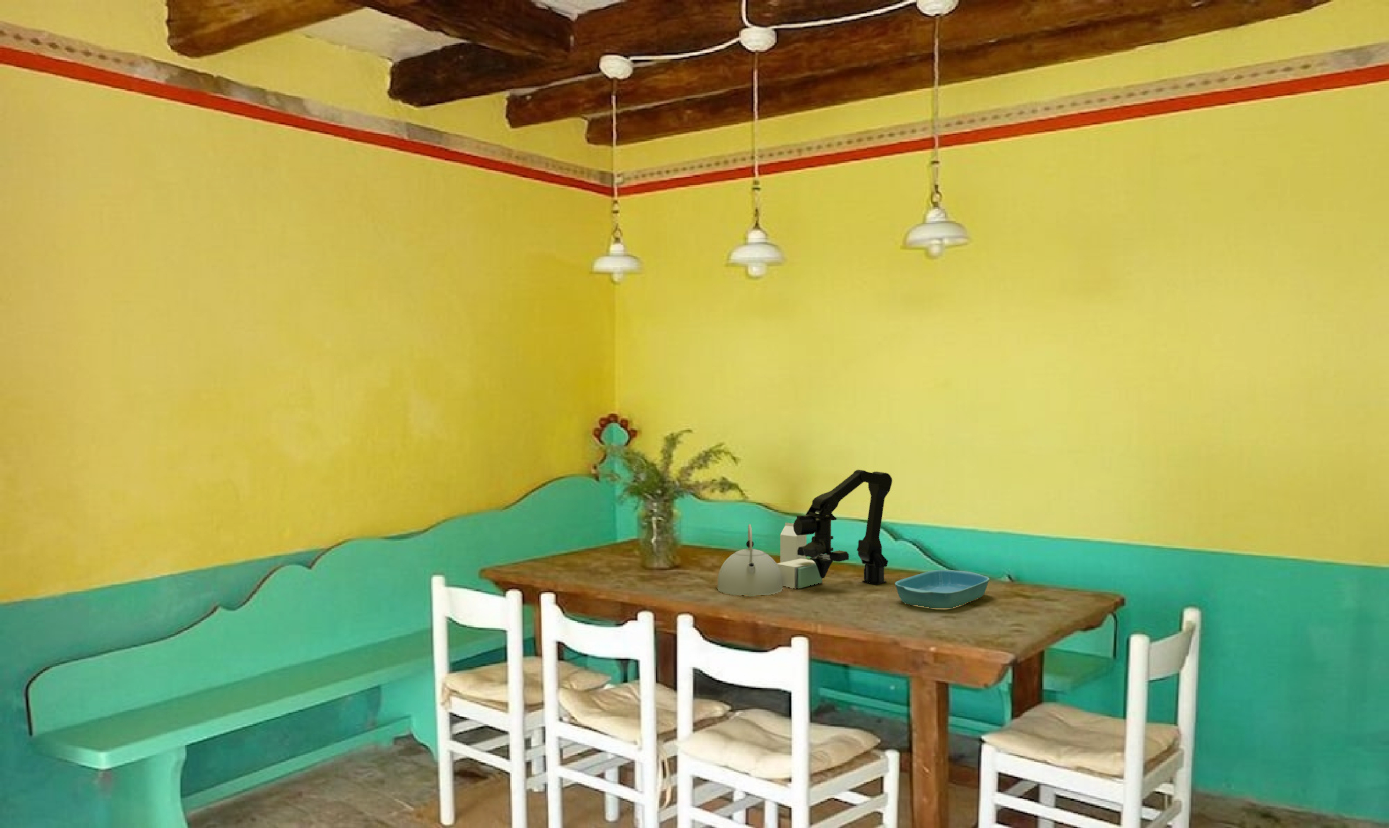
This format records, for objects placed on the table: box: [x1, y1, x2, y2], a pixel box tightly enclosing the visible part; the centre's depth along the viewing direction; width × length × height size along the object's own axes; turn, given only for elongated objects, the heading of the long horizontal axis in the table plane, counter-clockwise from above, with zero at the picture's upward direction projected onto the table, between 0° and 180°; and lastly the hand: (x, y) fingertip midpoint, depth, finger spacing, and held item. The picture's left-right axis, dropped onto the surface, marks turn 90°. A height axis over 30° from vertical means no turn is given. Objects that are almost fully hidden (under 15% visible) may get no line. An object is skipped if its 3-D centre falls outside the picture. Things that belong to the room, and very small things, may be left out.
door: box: [798, 564, 823, 589], centre depth 349 cm, size 12×2×7 cm, turn 136°
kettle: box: [717, 523, 784, 597], centre depth 344 cm, size 25×23×22 cm
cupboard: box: [776, 558, 816, 589], centre depth 353 cm, size 9×14×8 cm, turn 134°
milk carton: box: [779, 522, 807, 563], centre depth 370 cm, size 7×7×19 cm
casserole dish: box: [894, 569, 990, 608], centre depth 327 cm, size 37×22×7 cm, turn 138°
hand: (822, 578), depth 346 cm, fingers closed
